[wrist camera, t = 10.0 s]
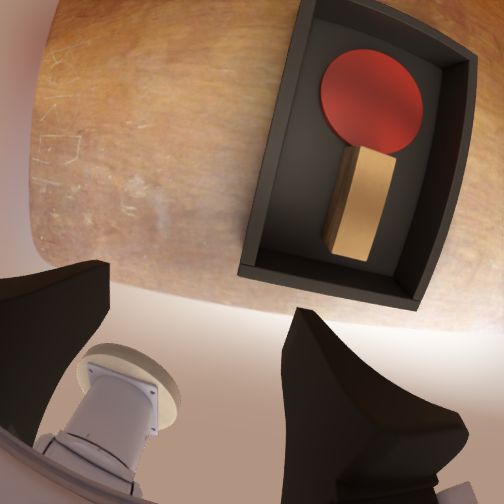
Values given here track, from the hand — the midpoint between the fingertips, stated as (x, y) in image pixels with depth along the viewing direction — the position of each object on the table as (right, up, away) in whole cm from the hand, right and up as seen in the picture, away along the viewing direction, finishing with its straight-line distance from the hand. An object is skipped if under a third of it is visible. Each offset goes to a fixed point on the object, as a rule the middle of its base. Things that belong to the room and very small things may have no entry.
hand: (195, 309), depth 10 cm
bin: (+9, +9, +6) cm, 14 cm away
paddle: (+9, +9, +6) cm, 14 cm away
